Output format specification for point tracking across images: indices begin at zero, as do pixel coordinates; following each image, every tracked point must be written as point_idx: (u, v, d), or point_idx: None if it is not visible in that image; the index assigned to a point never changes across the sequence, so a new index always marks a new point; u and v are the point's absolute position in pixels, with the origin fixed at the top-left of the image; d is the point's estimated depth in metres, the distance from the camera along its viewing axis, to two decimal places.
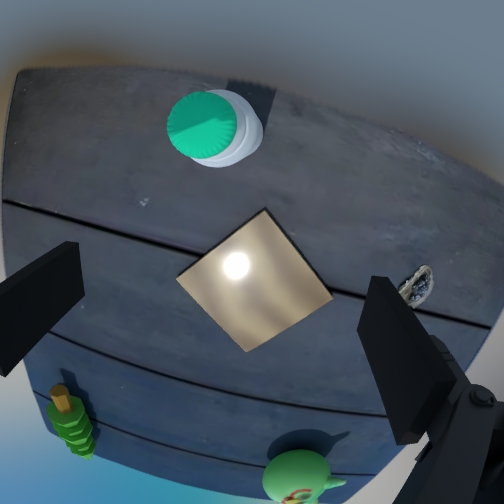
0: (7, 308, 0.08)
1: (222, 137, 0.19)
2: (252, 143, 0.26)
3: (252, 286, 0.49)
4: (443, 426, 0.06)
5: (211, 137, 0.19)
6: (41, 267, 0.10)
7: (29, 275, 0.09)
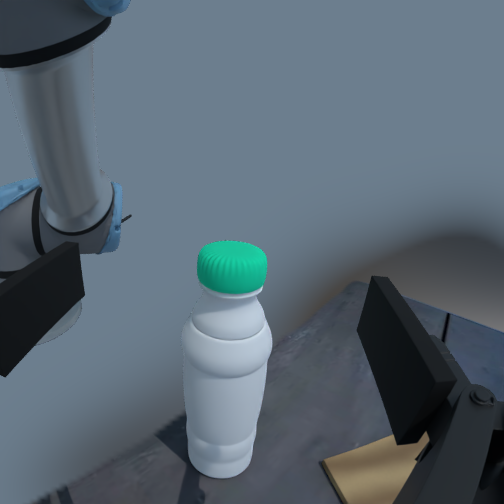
0: (7, 309, 0.08)
1: (255, 246, 0.22)
2: None
3: None
4: (443, 426, 0.06)
5: (251, 248, 0.22)
6: (41, 267, 0.10)
7: (29, 274, 0.09)
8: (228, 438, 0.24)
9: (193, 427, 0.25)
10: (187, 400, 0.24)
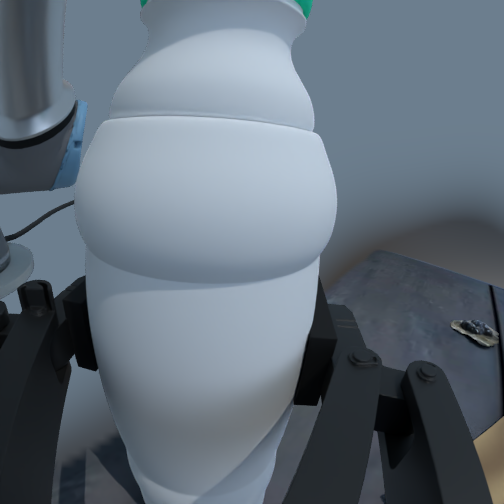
0: None
1: None
2: None
3: None
4: None
5: None
6: None
7: None
8: (212, 484, 0.08)
9: (129, 451, 0.09)
10: None
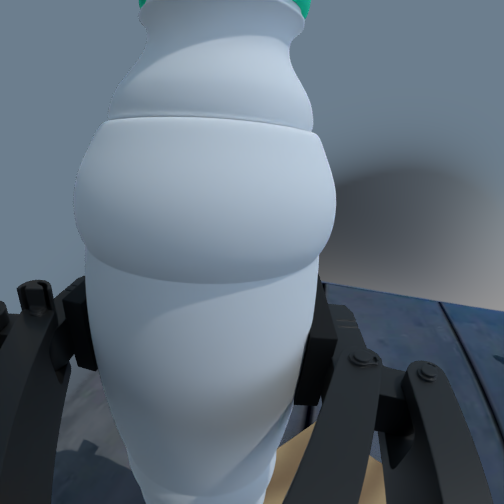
0: None
1: None
2: None
3: None
4: None
5: None
6: None
7: None
8: (212, 484, 0.08)
9: (129, 451, 0.09)
10: (101, 381, 0.08)
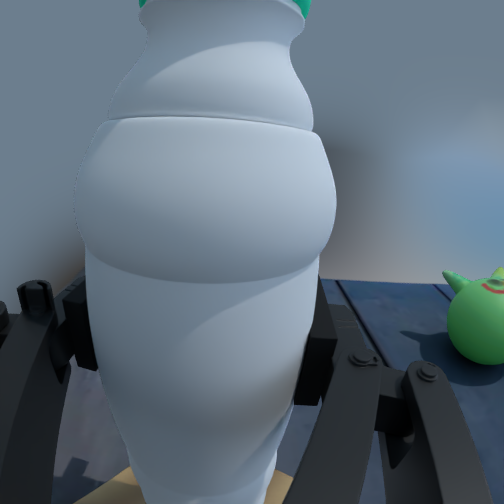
0: None
1: None
2: None
3: None
4: None
5: None
6: None
7: None
8: (213, 484, 0.08)
9: (129, 451, 0.09)
10: (102, 381, 0.08)
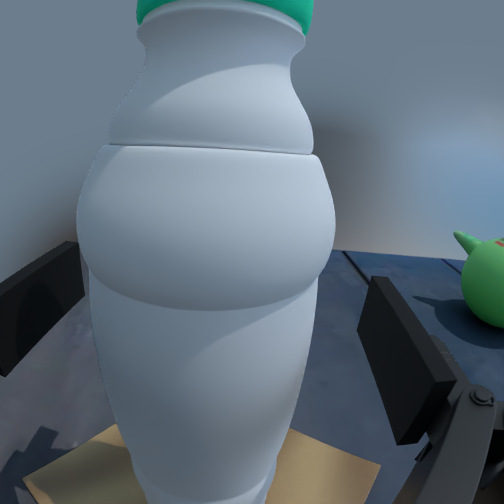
0: (7, 308, 0.08)
1: None
2: None
3: None
4: (443, 426, 0.06)
5: None
6: (41, 267, 0.10)
7: (29, 275, 0.09)
8: (215, 490, 0.09)
9: (134, 459, 0.09)
10: (107, 394, 0.09)
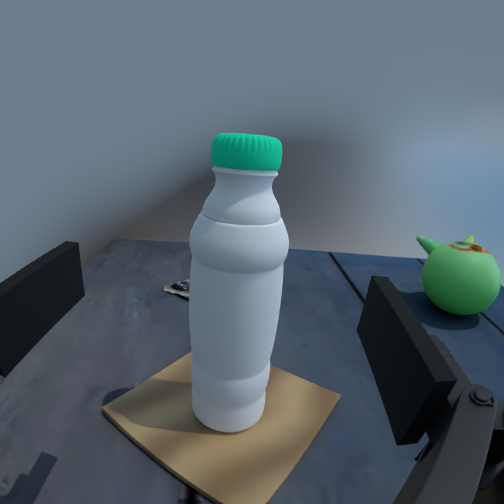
0: (7, 308, 0.08)
1: None
2: None
3: None
4: (443, 426, 0.06)
5: None
6: (41, 267, 0.10)
7: (29, 274, 0.09)
8: (240, 367, 0.22)
9: (199, 357, 0.23)
10: (193, 318, 0.22)
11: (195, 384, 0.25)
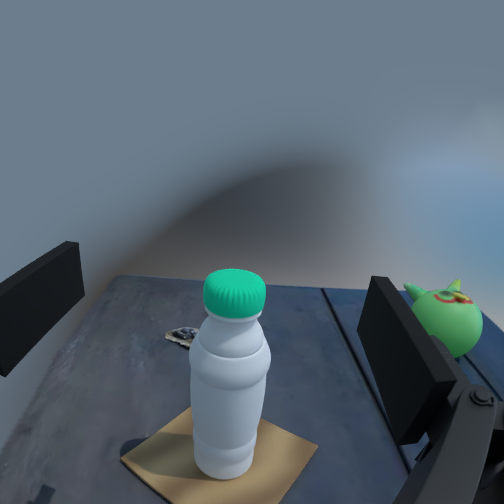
0: (7, 309, 0.08)
1: (255, 274, 0.25)
2: None
3: None
4: (443, 426, 0.06)
5: (251, 276, 0.24)
6: (41, 267, 0.10)
7: (29, 275, 0.09)
8: (232, 443, 0.26)
9: (199, 433, 0.27)
10: (194, 409, 0.26)
11: (197, 447, 0.28)
